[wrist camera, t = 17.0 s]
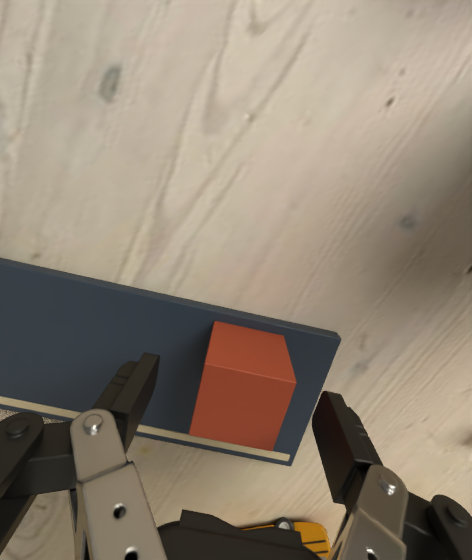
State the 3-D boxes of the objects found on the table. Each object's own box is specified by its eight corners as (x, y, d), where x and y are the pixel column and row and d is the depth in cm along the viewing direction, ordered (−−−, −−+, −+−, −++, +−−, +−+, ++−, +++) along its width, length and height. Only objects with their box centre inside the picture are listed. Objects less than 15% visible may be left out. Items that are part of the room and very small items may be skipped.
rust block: (201, 378, 16) (188, 435, 13) (214, 320, 15) (204, 363, 11) (266, 392, 16) (272, 452, 13) (284, 335, 15) (297, 382, 11)
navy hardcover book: (-30, 391, 18) (-44, 402, 17) (-44, 247, 15) (-61, 251, 14) (289, 456, 19) (291, 468, 18) (337, 332, 16) (342, 340, 15)
